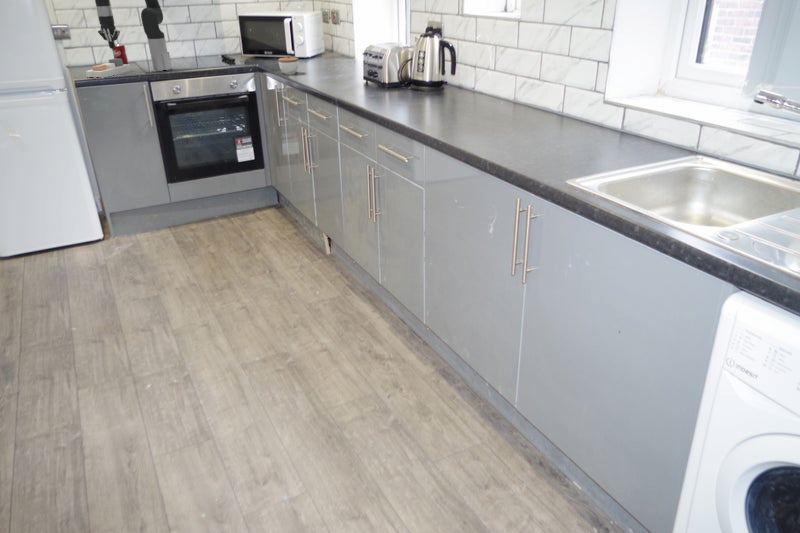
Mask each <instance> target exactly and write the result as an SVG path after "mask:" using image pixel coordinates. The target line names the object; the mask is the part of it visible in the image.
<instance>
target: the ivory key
mask: <svg viewBox="0 0 800 533" xmlns="http://www.w3.org/2000/svg"><path fill="white" fill-rule="evenodd" d="M100 65H106V67H107V69H111V68H115V64H114V63H109V62H105V63H100Z"/></svg>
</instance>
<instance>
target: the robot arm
mask: <svg viewBox="0 0 800 533" xmlns="http://www.w3.org/2000/svg"><path fill="white" fill-rule="evenodd" d="M94 2H95V5H96V7H95V8H96V13H97V18H98V23H99V25H100V29H99V30H98V31H97V33H98V34H99V36H101V38H102V39H103V40H104V41H106V42H108V47H109V49H111V50H112V49H114V48H115V45H116V43H115V41H117V40H118V38H119V36H120V34H121V33H120V32H121V31H120V30H117V28H116V26H115V19H114V14H113V10H112V7H111V2H110V0H94ZM144 2H145V6H146V7H145V8H144V7H143V9H142V10H141V13H140V17H141V18H140V19H141V23H142V28H143V30H144V34H145V35H146V38H147V43H148V44H147V45H148V47H149V53H150V58H151V63H152V67H153V69H152V70H153V71H154V70H155V71H154V72H164V71H163V70H167V71H171V70H173V66H172V61H171V56H170V52H169V51H168V47H167V43H166V38H165V36H166V35H165V32H163V31H162V30H161V29H160V26H159V25H161V24H162V23H163V20H164V14H163V10H162V8H161V5H160V3H159V0H144Z"/></svg>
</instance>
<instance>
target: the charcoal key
mask: <svg viewBox="0 0 800 533" xmlns="http://www.w3.org/2000/svg"><path fill="white" fill-rule="evenodd" d="M108 63H114V64H115V67H119V66H123V61H122V59H114V58H112V59H111V58H110V59H108Z"/></svg>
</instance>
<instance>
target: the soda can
mask: <svg viewBox="0 0 800 533" xmlns="http://www.w3.org/2000/svg"><path fill="white" fill-rule="evenodd" d="M111 51H112V55H113V59H122V61H123V64H129V60H128V55H127V54H128V53H127V50H126V46H125V44H115V48H114V49H111ZM129 65H130V64H129Z"/></svg>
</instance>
